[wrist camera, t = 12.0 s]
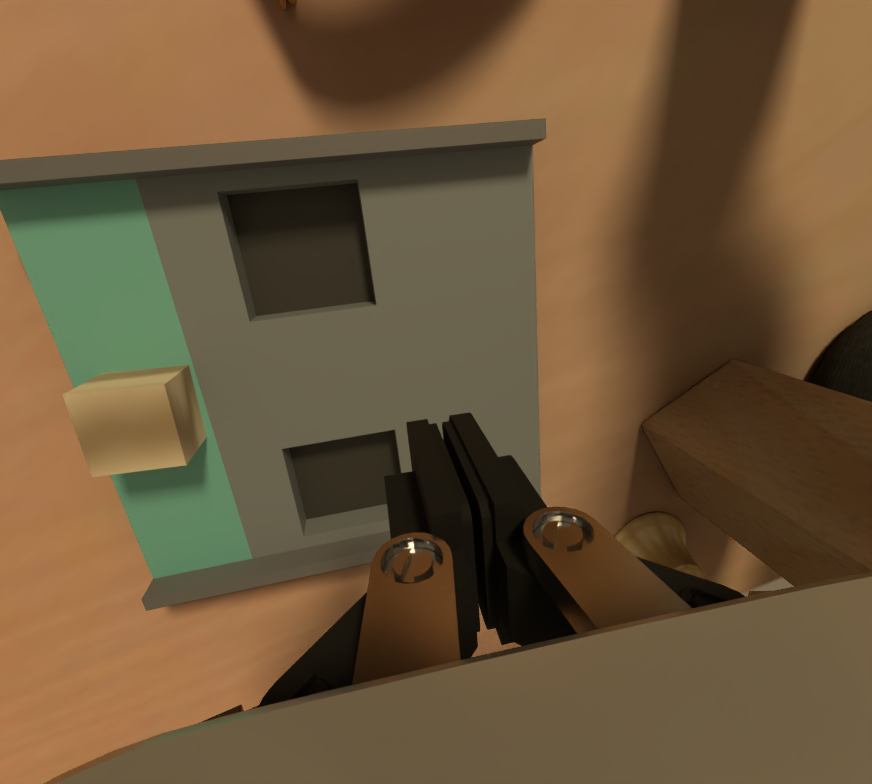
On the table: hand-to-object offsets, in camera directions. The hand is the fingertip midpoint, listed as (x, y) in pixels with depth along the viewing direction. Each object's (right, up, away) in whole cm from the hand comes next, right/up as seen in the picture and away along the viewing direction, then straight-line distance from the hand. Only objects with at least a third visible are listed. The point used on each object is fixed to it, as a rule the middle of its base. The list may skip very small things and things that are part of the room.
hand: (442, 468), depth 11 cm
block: (-18, +1, +17) cm, 25 cm away
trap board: (-8, +4, +21) cm, 22 cm away
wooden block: (+24, -2, +29) cm, 38 cm away
